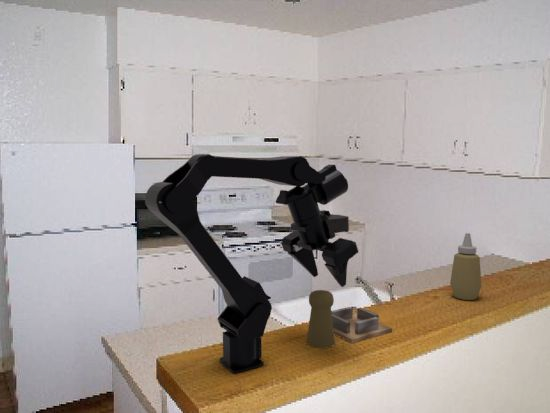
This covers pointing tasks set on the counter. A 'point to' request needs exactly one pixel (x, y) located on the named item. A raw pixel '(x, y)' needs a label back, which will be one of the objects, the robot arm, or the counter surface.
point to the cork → (321, 319)
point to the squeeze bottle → (466, 271)
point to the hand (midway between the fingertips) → (329, 280)
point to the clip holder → (357, 324)
